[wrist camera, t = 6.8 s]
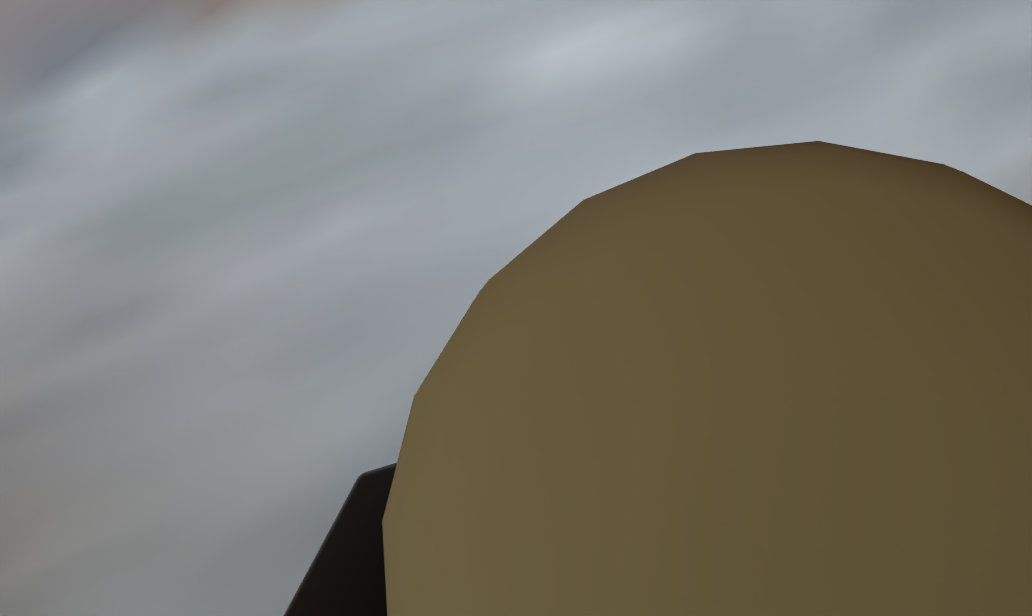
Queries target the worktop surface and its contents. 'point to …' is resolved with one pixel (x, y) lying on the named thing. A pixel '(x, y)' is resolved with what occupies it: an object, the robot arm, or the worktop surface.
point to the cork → (735, 403)
